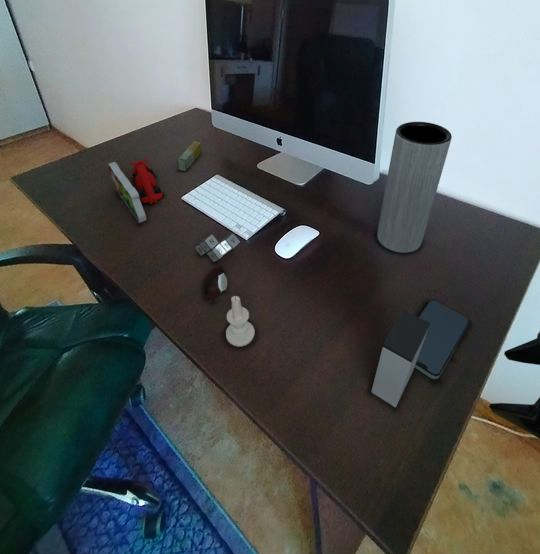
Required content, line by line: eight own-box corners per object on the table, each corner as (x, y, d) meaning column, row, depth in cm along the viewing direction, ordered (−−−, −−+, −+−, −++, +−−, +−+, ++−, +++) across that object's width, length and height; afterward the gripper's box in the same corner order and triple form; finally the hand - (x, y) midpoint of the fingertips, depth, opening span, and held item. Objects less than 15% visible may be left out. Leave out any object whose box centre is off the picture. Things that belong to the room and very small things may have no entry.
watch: (222, 303, 73) (219, 291, 71) (199, 301, 73) (196, 289, 71) (231, 274, 79) (229, 262, 77) (209, 272, 79) (207, 260, 77)
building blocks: (208, 265, 84) (225, 256, 78) (193, 246, 83) (209, 236, 77) (223, 251, 87) (240, 242, 81) (209, 233, 87) (225, 223, 81)
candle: (238, 317, 70) (233, 279, 64) (260, 330, 67) (257, 293, 61) (220, 337, 67) (212, 299, 60) (242, 352, 64) (236, 314, 58)
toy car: (143, 207, 99) (138, 192, 96) (132, 177, 112) (128, 162, 109) (165, 201, 101) (161, 186, 98) (152, 172, 114) (148, 157, 111)
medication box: (186, 171, 114) (185, 160, 111) (178, 170, 114) (176, 159, 112) (201, 152, 123) (201, 142, 120) (194, 151, 123) (193, 140, 121)
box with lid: (412, 372, 60) (430, 322, 52) (395, 407, 56) (412, 359, 48) (389, 358, 62) (403, 309, 54) (371, 392, 58) (383, 343, 50)
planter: (412, 223, 90) (438, 119, 74) (428, 252, 82) (462, 142, 66) (371, 226, 90) (389, 122, 74) (384, 255, 82) (406, 145, 66)
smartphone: (472, 319, 66) (438, 378, 57) (469, 325, 67) (435, 384, 58) (431, 297, 71) (393, 349, 62) (428, 302, 72) (391, 354, 63)
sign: (148, 224, 94) (138, 191, 88) (141, 226, 93) (131, 194, 87) (120, 186, 108) (110, 156, 102) (114, 188, 108) (104, 158, 102)
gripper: (626, 254, 38) (480, 281, 51) (625, 402, 27) (436, 390, 39) (683, 337, 39) (526, 344, 51) (707, 518, 27) (496, 471, 40)
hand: (499, 380), depth 45 cm, fingers open, 8 cm apart
